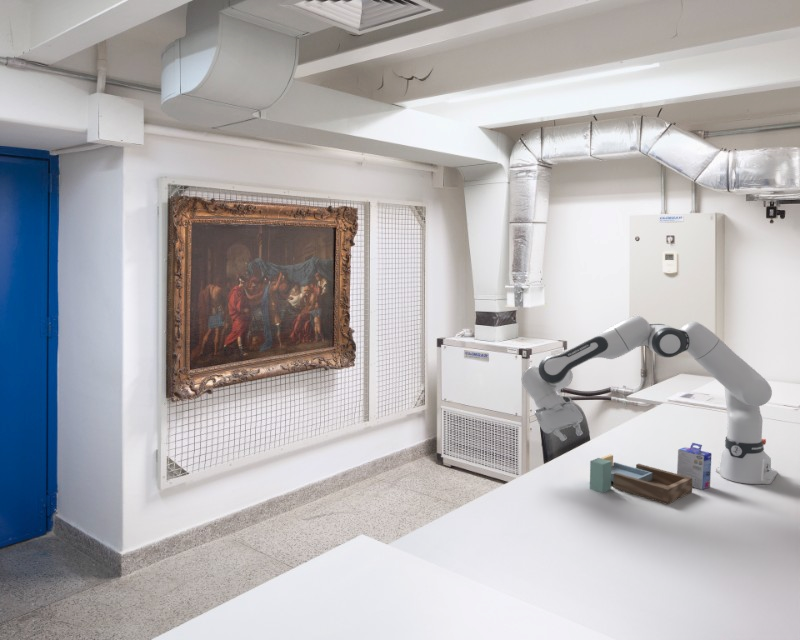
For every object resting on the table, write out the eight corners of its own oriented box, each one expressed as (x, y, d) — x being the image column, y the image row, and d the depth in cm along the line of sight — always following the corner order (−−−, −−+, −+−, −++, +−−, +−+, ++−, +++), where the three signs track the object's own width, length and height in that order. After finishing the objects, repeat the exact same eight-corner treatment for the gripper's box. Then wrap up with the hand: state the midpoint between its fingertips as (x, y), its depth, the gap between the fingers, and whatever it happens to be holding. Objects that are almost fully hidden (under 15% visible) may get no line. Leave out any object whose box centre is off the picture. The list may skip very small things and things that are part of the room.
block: (598, 485, 229) (598, 457, 227) (610, 489, 225) (611, 461, 224) (589, 488, 225) (590, 460, 224) (602, 492, 222) (602, 464, 220)
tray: (610, 467, 243) (610, 454, 242) (652, 479, 229) (653, 466, 229) (591, 474, 235) (591, 461, 235) (634, 487, 222) (634, 473, 221)
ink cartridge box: (711, 486, 226) (712, 446, 224) (703, 490, 222) (704, 449, 221) (684, 479, 233) (685, 439, 232) (675, 482, 230) (677, 442, 229)
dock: (638, 476, 236) (638, 463, 236) (691, 492, 221) (692, 478, 220) (613, 487, 226) (613, 473, 226) (667, 504, 211) (668, 489, 210)
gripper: (537, 405, 230) (559, 438, 224) (572, 396, 243) (594, 427, 237) (527, 415, 234) (549, 447, 228) (562, 406, 247) (584, 436, 241)
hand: (572, 437), depth 232 cm, fingers open, 8 cm apart
